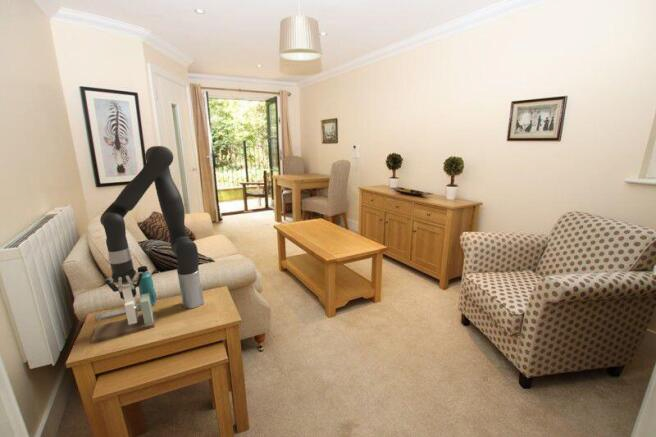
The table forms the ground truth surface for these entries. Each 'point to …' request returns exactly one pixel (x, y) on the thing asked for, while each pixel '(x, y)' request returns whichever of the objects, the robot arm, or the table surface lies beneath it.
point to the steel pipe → (115, 313)
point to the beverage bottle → (147, 284)
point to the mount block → (146, 308)
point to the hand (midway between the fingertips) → (129, 297)
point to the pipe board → (120, 329)
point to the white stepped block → (130, 305)
